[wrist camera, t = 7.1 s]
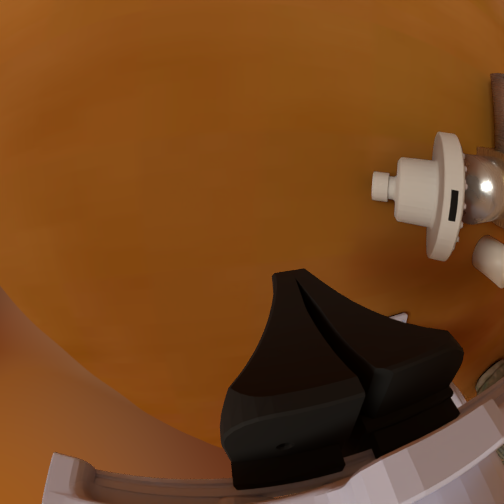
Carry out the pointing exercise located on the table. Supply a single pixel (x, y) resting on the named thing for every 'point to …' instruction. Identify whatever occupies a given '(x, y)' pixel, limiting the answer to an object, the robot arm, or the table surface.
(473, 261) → the pvc coupling
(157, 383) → the table surface
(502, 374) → the vase
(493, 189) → the beige red button device
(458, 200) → the showerhead
